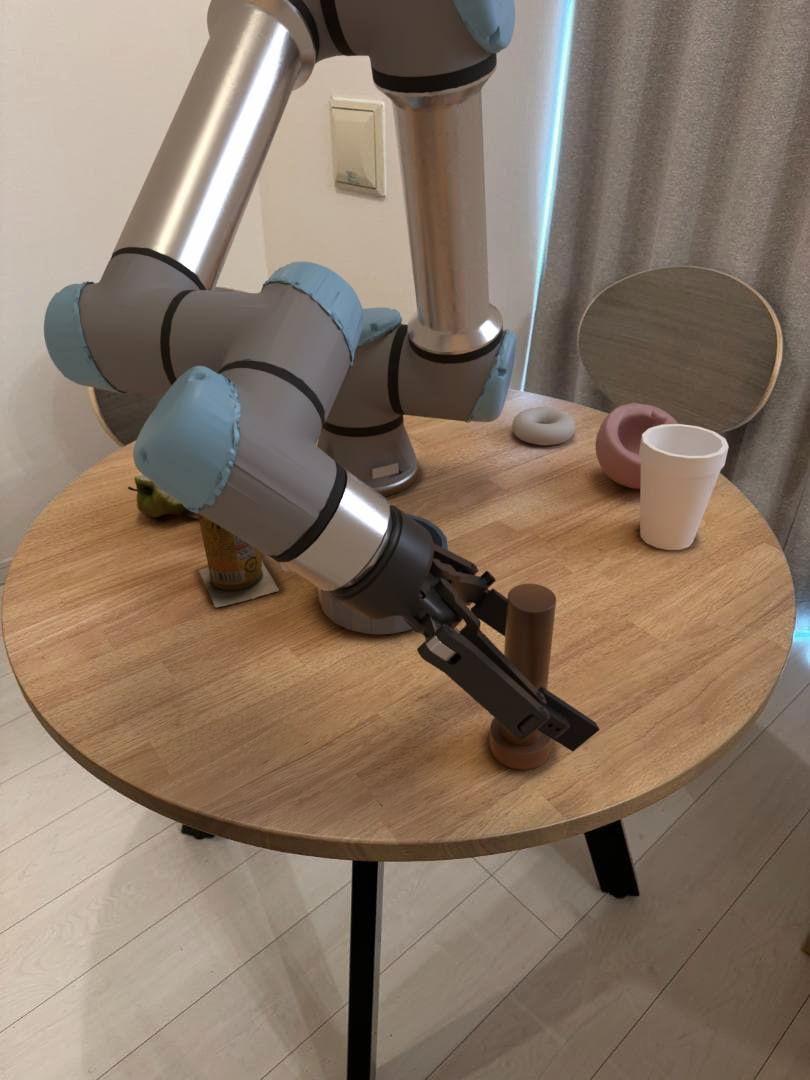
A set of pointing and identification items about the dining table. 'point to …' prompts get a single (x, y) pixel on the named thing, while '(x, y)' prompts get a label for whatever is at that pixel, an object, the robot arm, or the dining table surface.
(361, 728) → the dining table surface
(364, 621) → the bowl
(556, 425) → the donut
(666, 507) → the foam cup
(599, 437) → the pink hollowed ball
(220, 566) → the condiment
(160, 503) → the fruit
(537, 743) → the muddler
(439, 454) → the dining table surface
